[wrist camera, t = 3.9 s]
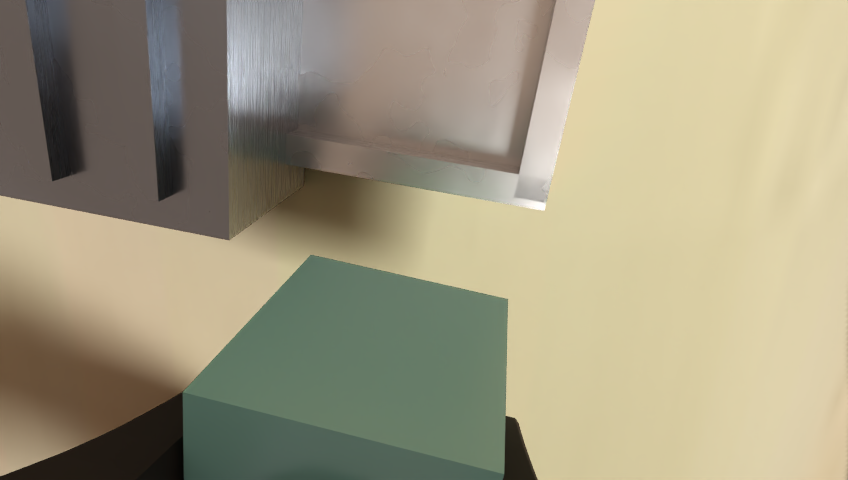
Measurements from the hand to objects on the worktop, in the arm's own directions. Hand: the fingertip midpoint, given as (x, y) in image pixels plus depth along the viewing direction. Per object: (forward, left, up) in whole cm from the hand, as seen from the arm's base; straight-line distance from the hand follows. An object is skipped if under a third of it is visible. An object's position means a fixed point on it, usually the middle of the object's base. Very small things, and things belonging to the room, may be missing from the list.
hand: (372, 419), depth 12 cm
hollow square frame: (+8, +4, -8) cm, 13 cm away
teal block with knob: (0, 0, -2) cm, 2 cm away
